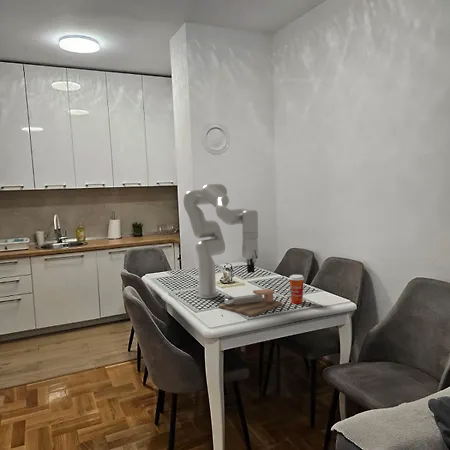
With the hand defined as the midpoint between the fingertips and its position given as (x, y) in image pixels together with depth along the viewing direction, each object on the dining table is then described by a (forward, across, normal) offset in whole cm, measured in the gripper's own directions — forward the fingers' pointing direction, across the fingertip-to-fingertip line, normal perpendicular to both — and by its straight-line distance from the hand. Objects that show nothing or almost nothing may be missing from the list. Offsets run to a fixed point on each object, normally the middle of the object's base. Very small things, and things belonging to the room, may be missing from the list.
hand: (250, 272), depth 197 cm
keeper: (+19, -6, +10) cm, 22 cm away
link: (+17, -7, -2) cm, 19 cm away
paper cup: (+19, -1, +26) cm, 32 cm away
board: (+19, -5, +1) cm, 20 cm away
